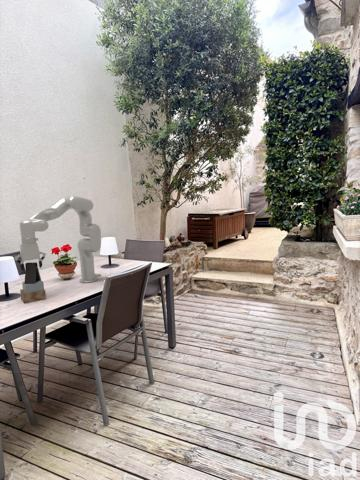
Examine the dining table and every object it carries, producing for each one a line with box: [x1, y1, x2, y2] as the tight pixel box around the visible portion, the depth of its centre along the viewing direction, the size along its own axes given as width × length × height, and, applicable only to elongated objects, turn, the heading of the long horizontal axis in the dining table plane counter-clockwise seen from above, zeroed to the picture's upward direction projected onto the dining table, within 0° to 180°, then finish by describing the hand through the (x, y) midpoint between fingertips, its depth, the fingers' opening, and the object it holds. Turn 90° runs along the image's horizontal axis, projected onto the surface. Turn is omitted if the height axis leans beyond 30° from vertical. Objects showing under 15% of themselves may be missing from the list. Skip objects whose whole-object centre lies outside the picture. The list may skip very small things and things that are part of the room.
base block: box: [19, 288, 47, 304], centre depth 184 cm, size 12×12×6 cm
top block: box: [21, 279, 45, 293], centre depth 184 cm, size 10×10×5 cm
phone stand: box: [23, 261, 42, 284], centre depth 183 cm, size 9×6×12 cm, turn 0°
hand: (32, 268), depth 183 cm, fingers open, 9 cm apart
